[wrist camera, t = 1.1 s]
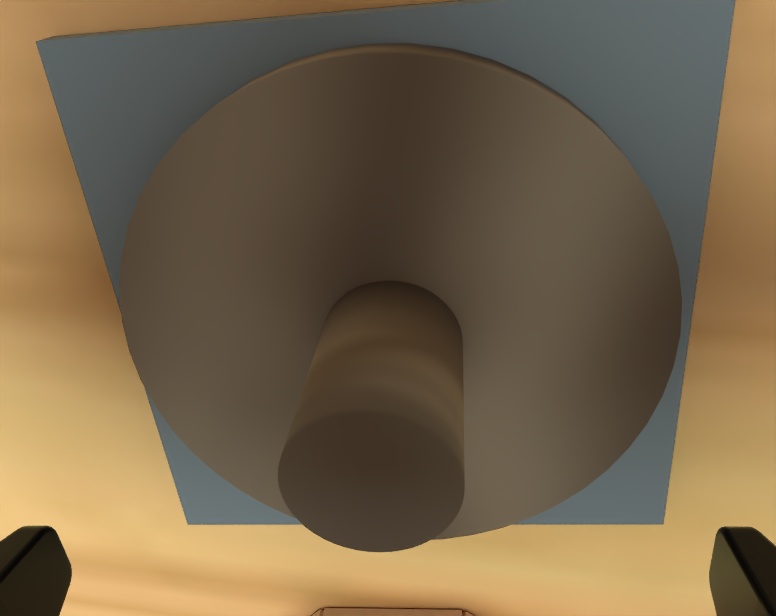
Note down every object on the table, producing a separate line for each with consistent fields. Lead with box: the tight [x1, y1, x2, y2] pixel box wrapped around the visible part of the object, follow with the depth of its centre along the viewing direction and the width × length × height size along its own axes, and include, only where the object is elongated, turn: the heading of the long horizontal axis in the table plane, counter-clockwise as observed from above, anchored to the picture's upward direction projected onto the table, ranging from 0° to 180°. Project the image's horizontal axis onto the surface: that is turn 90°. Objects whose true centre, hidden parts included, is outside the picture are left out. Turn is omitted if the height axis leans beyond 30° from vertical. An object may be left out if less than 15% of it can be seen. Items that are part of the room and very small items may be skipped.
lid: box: [119, 43, 682, 552], centre depth 13 cm, size 11×11×5 cm
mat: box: [36, 0, 735, 525], centre depth 15 cm, size 12×12×1 cm
